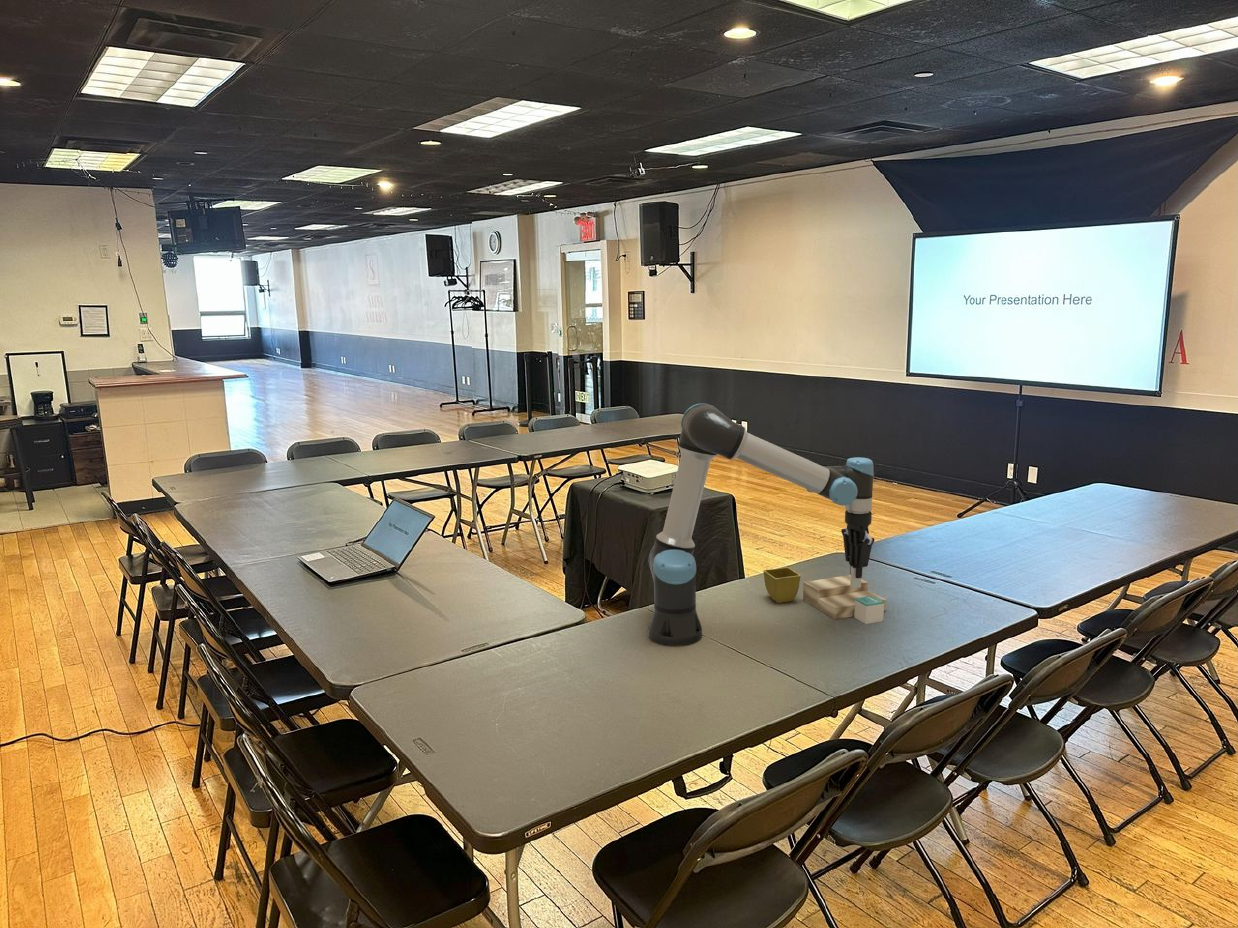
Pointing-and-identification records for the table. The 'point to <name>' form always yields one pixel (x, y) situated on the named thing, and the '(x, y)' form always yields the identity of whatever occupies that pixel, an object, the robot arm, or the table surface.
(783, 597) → the flower pot
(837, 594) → the beech steps
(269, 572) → the table surface
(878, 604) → the cream block
